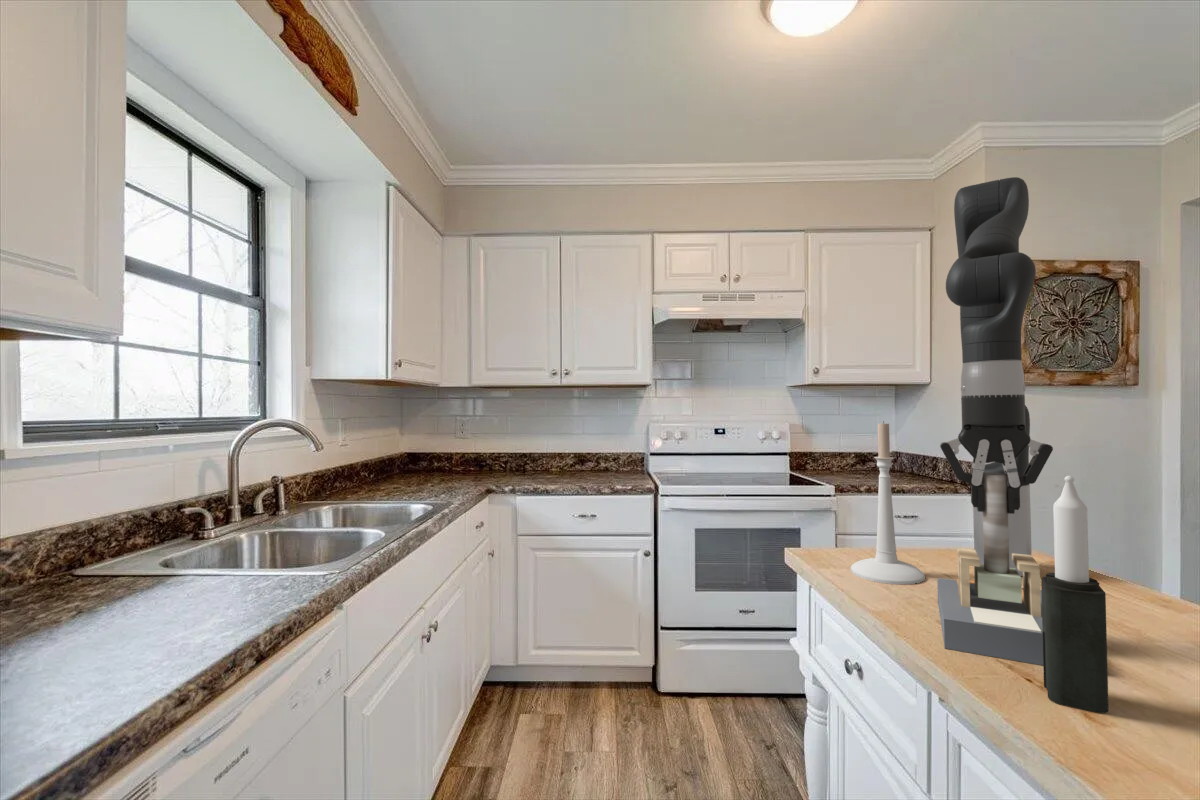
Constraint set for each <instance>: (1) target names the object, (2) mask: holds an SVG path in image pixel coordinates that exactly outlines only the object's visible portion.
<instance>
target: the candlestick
mask: <svg viewBox="0 0 1200 800" xmlns="http://www.w3.org/2000/svg"><path fill="white" fill-rule="evenodd" d="M877 442H878V443H877V445H878V446H877V448H878V450H877V451H878V453H877V454H878V455H877V456H874V457H873V458H874V459H875V460H876V466H877V468H879V469H878V470H879V475H878V493H877V498H878V499H877V521H876V522H877V527H876V548H875V551H876V552H875V557H870V558H864V559H860V560H858V561H855V562H854V563H853V564H851V566H850V573H852V574H853V575H854V576H856V577H858V578H861V579H863V580H866V579H867V580H866V581H869V580H870V581H871V582H874V581H875V582H874V583H879V582H880V583H879V584H885V583H887V585H897V586H898V585H900V586H903V585H904V586H906V585H907V584H910V585H916V584H915V583H917V584H921V583H923V582H925V578H926V575H925V574H924V573H923V571H921V569H919V568H918V567H916V566H914V565H912V564H910V563H908V562H905V561H902V560H899V559H898V555H897V544H896V536H895V535H896V534H895V532H896V531H895V523H894V508H893V495H892V484H891V481H892V480H891V475H890V470H891V469H890V468H892V466H893V464H892V461H893V460H894V459H895V457H892V456H890V455H891V454H890V453H891V450H890V423H885V421H884V420H883V421H882V422H881V423H877ZM922 581H923V582H922ZM920 582H921V583H920Z"/></svg>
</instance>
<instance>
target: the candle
mask: <svg viewBox="0 0 1200 800" xmlns="http://www.w3.org/2000/svg"><path fill="white" fill-rule="evenodd" d="M1063 479H1064V482H1065V483H1064V486H1063V488H1062V492H1061V494H1060V496H1059V497H1058V499H1057V500H1056V501H1055V502H1054V503H1053V505H1052V507H1053V509H1052V510H1053V513H1052V514H1053V545H1054V546H1053V547H1054V548H1053V549H1054V550H1053V552H1054V572H1048V573H1046V574H1045V576H1042V577H1040V590H1042V629H1043V665H1042V667H1043V670H1042V671H1043V687H1044V688H1046V691H1047V698H1048V699H1049V700H1050V701H1051V702H1053V703H1055V704H1058V705H1061V706H1063V707H1064V706H1065V707H1068V708H1069V707H1070V708H1074V709H1079V710H1084V711H1089V712H1092V713H1097V714H1107V713H1109V711H1110V710H1109V678H1108V676H1109V675H1108V674H1109V673H1108V671H1109V670H1108V638H1107V637H1108V636H1107V635H1108V633H1107V604H1106V601H1107V600H1106V595H1107V594H1106V592H1105V591H1104V590H1103V588H1102V587H1101V586H1100V582H1099V580H1097V579H1094V578H1092V577H1090V569H1089V567H1090V566H1089V561H1090V560H1089V532H1088V531H1089V528H1088V527H1089V526H1088V525H1089V523H1088V519H1089V518H1088V507H1087V505H1086V504H1085V503H1084V501H1083V500H1082V499H1081V498H1080V496H1079V494H1078V492H1077V489H1076V486H1075V484H1074V481H1075V478H1074V477H1073V476H1071V475H1066V476H1065V477H1064V478H1063Z"/></svg>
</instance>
